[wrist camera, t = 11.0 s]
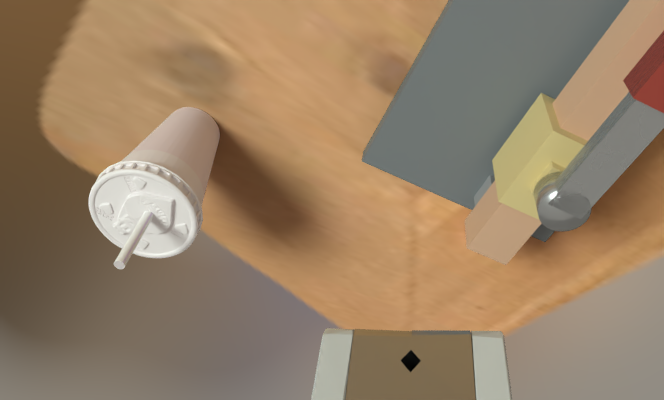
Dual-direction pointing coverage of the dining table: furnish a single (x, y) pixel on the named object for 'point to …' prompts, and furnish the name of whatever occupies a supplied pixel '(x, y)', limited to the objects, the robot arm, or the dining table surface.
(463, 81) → the board
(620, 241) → the dining table surface
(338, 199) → the dining table surface
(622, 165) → the lever
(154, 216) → the smoothie
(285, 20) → the dining table surface
